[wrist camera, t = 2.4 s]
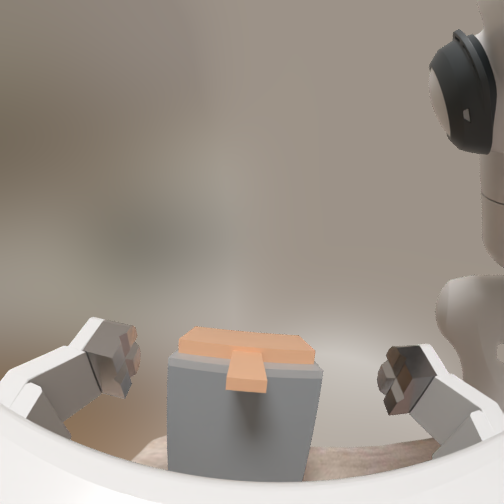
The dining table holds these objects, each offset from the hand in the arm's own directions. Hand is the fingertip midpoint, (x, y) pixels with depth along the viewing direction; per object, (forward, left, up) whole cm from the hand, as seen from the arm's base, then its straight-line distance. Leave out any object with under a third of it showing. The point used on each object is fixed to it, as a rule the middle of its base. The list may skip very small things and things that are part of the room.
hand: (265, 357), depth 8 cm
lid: (0, -27, -7) cm, 28 cm away
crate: (0, -31, -33) cm, 46 cm away
